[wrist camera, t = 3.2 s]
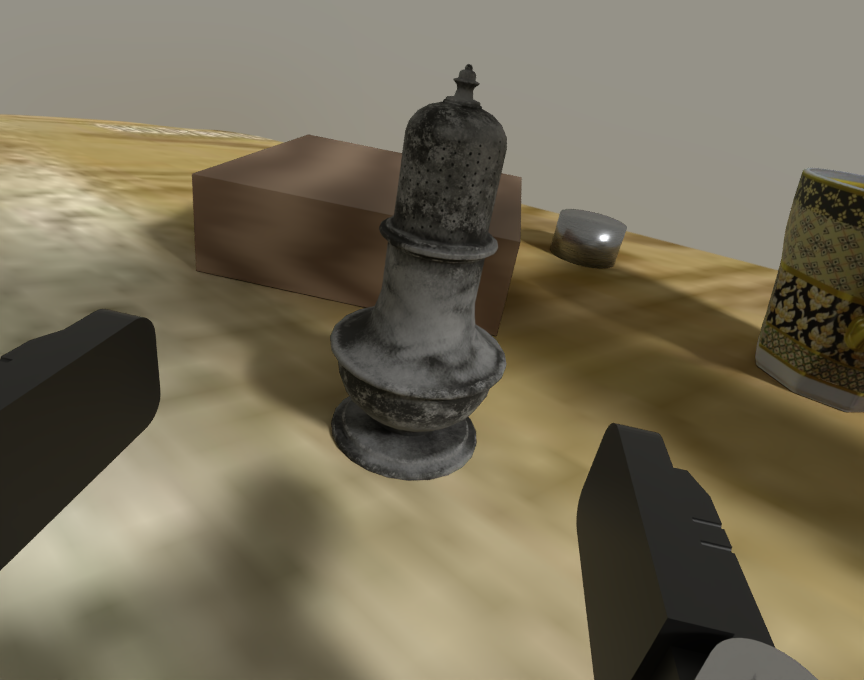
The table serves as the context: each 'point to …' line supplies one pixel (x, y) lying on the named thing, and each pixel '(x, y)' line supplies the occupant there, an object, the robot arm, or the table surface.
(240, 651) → the table surface
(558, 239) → the grey metal puck
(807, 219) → the ceramic cup
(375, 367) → the salt shaker
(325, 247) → the walnut stand
